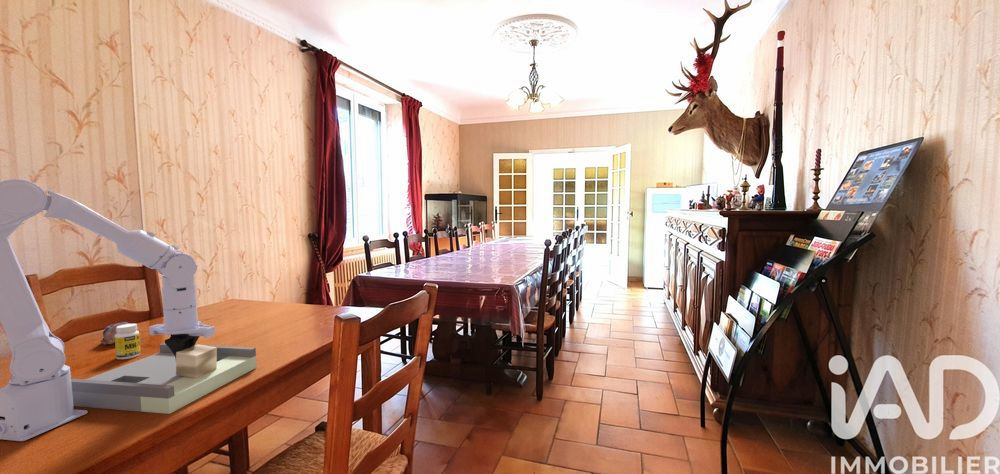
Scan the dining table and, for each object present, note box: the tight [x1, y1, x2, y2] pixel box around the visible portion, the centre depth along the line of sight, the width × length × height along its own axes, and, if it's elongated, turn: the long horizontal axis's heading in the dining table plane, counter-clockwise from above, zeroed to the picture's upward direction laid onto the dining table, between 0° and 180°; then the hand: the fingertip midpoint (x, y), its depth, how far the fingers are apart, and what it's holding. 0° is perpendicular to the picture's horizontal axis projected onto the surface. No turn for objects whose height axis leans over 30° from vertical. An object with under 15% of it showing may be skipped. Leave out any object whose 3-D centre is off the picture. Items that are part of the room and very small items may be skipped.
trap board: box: [71, 342, 257, 415], centre depth 88 cm, size 22×26×5 cm
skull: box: [100, 321, 131, 346], centre depth 117 cm, size 12×8×6 cm, turn 43°
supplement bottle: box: [114, 323, 142, 360], centre depth 104 cm, size 5×5×8 cm
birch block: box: [176, 343, 217, 378], centre depth 86 cm, size 5×5×5 cm
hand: (184, 367), depth 87 cm, fingers closed, pressing on birch block
